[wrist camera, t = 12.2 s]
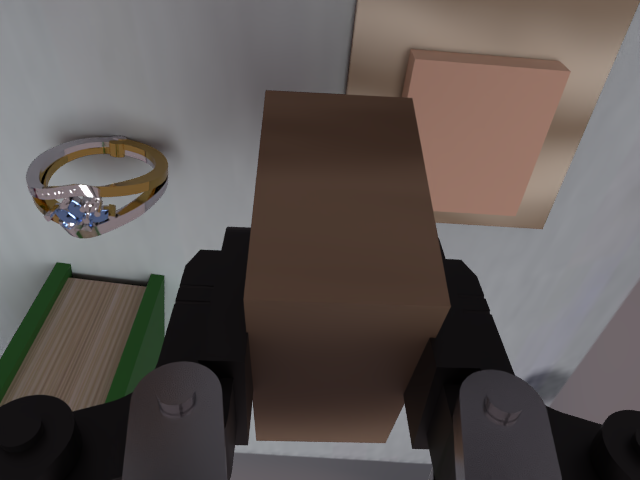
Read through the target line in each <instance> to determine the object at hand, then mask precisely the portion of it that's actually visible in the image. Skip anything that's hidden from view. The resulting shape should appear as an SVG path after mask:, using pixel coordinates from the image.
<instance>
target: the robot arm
mask: <svg viewBox="0 0 640 480" xmlns="http://www.w3.org/2000/svg"><path fill="white" fill-rule="evenodd" d="M250 233H251V228H246V227H227V228H226V232H225V236H224V241H223V246H222V250H221V251H219V250H200V251H199V252H198V253H197V254H196V255H195V256H194V257H193V258H192V259H191V260H190V261H189V263H188V264H187V265H186V266H185V269H184V273H183V276H182V279H181V283H180V288H179V290H178V293H177V297H176V303H175V304H174V307H173V311H172V314H171V317H170V321H169V324H168V328H167V331H166V335H165V338H164V342H163V345H162V349H161V352H160V356H159V359H158V362H157V365H156V367H155V369H154V370H153V371H151V372H149V373H148V374H147V375H146V376H145V377H143V378H142V380H141V381H140V382H139V383H138V384H137V386H136V387H135V389H134V391H133V392H132V393H130V394H128V395H126V396H124V397H122V398H120V399H117V400H114V401H111V402H108V403H104V404H100V405H96V406H92V407H88V408H84V409H80V410H76V411H72V410H71V408H70V407H69V406H68V405H67V404H66V403H65V402H64V401H63V400H61V399H59V398H57V397H54V396H49V395H30V396H25V397H21V398H18V399H15V400H13V401H10V402H8V403H6V404H4V405H2V406H1V407H0V480H230V477H231V473H232V466H233V457H234V449H235V445H248V439H249V430H250V420H251V410H252V400H253V381H252V370H251V358H250V347H249V335H248V332H246V322H245V311H244V301H243V299H244V290H245V280H246V271H247V262H248V252H249V243H250ZM438 240H439V238H438ZM439 245H440V251H441V256H442V262H443V267H444V272H445V278H446V283H447V289H448V294H449V300H450V305H451V307H450V309H449V311H448V314H447V316H446V318H445V320H444V322H443V324H442V326H441V328H440V330H439V332H438V334H437V336H436V338H429V340H428V342H427V344H426V346H425V349H424V351H423V353H422V355H421V357H420V359H419V362H418V364H417V366H416V368H415V370H414V372H413V375H412V377H411V379H410V381H409V383H408V386H407V388H406V390H405V392H404V394H403V397H404V402H405V408H406V414H407V420H408V426H409V432H410V438H411V444H412V449H429V451H430V456H431V461H432V465H433V467H432V470H431V473H430V476H429V480H640V411H634V410H623V411H618V412H615V413H613V414H611V415H610V416H609V417H608V418H607V419H606V420H605V422H604V423H603V425H601V424H598V423H594V422H591V421H587V420H584V419H581V418H578V417H575V416H571V415H568V414H565V413H562V412H559V411H556V410H554V409H552V408H550V407H548V406H546V405H545V404H544V402H543V400H542V398H541V397H540V395H539V394H538V393H537V392H536V391H535V390H534V388H533V387H531V386H530V385H529V384H528V383H527V382H525V381H524V380H522V379H521V378H519V377H517V376H515V374H514V372H513V369H512V367H511V364H510V361H509V359H508V356H507V354H506V351H505V348H504V346H503V343H502V341H501V338H500V335H499V333H498V330H497V328H496V325H495V322H494V320H493V317H492V315H491V314H490V309H489V307H488V304H487V301H486V299H484V294H483V291H482V288H481V286H480V283H479V281H478V278H477V276H476V275H475V274H474V273H473V272H472V271H471V270H470V269H469V268H468V267H467V266H466V265H465V263H464V262H463V261H462V260H454V259H445V256H444V252H443V249H442V246H441V243H440V240H439Z"/></svg>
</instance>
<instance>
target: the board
mask: <svg viewBox="0 0 640 480" xmlns="http://www.w3.org/2000/svg"><path fill="white" fill-rule="evenodd" d="M639 2H640V0H357V3H356V12H355V20H354V29H353V37H352V46H351V54H350V63H349V71H348V80H347V88H346V94H347V95H367V96H386V97H402V92H403V87H404V81H405V76H406V71H407V65H408V60H409V55H410V49H417V50H429V51H441V52H454V53H466V54H478V55H491V56H503V57H515V58H528V59H540V60H552V61H560V62H561V63H562V64H564V65H565V66H566V67H567V68H568V69H569V70H570V71H571V73H570V75H569V78H568V80H567V83H566V86H565V88H564V91H563V94H562V96H561V99H560V101H559V104H558V107H557V109H556V112H555V115H554V117H553V120H552V122H551V125H550V128H549V130H548V133H547V136H546V138H545V141H544V143H543V146H542V149H541V151H540V154H539V156H538V159H537V162H536V164H535V167H534V170H533V172H532V175H531V177H530V180H529V183H528V185H527V188H526V191H525V193H524V196H523V198H522V201H521V204H520V206H519V209H518V212H517V214H516V216H504V215H488V214H472V213H456V212H440V211H433V213H434V218H435V223H451V224H468V225H484V226H500V227H517V228H533V229H543V227H544V224H545V222H546V220H547V217H548V215H549V213H550V210H551V208H552V206H553V203H554V201H555V199H556V196H557V194H558V192H559V189H560V187H561V185H562V182H563V180H564V178H565V175H566V173H567V171H568V168H569V166H570V164H571V161H572V159H573V157H574V154H575V152H576V150H577V147H578V145H579V143H580V140H581V138H582V136H583V133H584V131H585V128H586V126H587V124H588V121H589V119H590V117H591V114H592V112H593V110H594V107H595V105H596V103H597V100H598V98H599V96H600V93H601V91H602V89H603V86H604V84H605V82H606V79H607V77H608V75H609V72H610V70H611V68H612V65H613V63H614V61H615V58H616V56H617V54H618V51H619V49H620V47H621V44H622V42H623V40H624V37H625V35H626V33H627V30H628V28H629V26H630V23H631V21H632V19H633V16H634V14H635V12H636V9H637V7H638V4H639Z"/></svg>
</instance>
